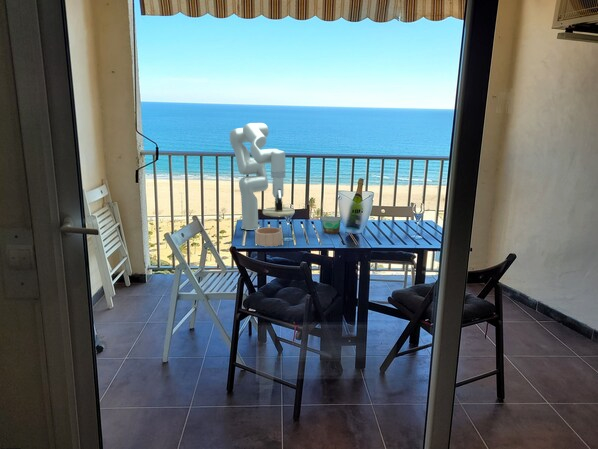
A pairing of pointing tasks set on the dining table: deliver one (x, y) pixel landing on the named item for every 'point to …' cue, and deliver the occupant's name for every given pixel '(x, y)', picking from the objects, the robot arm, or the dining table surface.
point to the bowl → (268, 236)
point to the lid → (278, 211)
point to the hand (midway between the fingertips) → (278, 208)
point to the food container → (331, 224)
